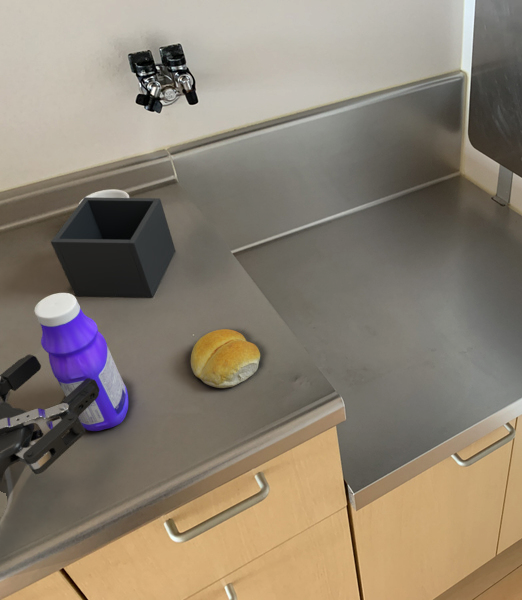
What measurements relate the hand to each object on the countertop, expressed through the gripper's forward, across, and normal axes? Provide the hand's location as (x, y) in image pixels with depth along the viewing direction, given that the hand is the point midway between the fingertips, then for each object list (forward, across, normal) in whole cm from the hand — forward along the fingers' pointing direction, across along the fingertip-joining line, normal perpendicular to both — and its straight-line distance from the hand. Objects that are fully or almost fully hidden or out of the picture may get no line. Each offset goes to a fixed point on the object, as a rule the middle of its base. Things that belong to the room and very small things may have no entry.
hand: (64, 371), depth 67 cm
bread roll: (+15, -9, +10) cm, 20 cm away
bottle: (+2, 0, +10) cm, 10 cm away
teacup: (+34, +26, +10) cm, 44 cm away
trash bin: (+25, +17, +10) cm, 31 cm away
